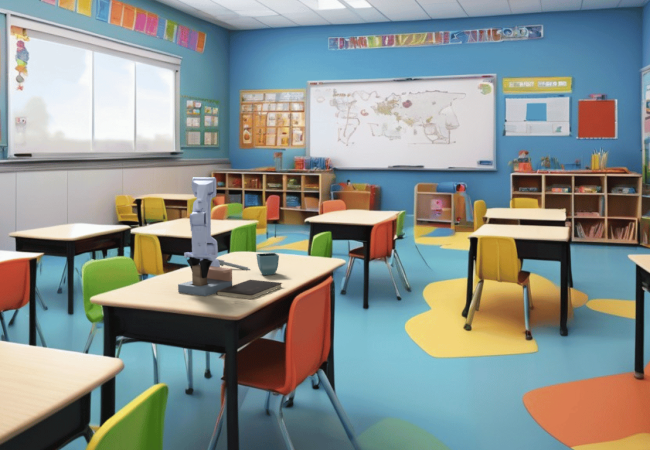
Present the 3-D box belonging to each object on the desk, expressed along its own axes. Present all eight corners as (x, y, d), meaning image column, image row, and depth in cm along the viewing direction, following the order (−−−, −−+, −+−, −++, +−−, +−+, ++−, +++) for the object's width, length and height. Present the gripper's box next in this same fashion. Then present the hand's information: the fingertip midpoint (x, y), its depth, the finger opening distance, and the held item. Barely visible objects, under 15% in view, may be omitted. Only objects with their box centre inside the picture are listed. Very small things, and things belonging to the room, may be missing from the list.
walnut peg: (199, 284, 239) (199, 264, 238) (207, 285, 237) (206, 265, 236) (192, 286, 235) (191, 265, 234) (200, 287, 233) (199, 266, 232)
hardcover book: (282, 288, 245) (282, 282, 244) (251, 300, 224) (251, 294, 224) (248, 284, 251) (248, 279, 251) (216, 296, 231) (216, 290, 231)
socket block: (206, 284, 249) (205, 277, 249) (232, 288, 242) (232, 280, 242) (178, 291, 236) (178, 284, 235) (205, 296, 229) (205, 288, 228)
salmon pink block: (205, 277, 249) (205, 265, 248) (232, 280, 242) (232, 268, 241) (196, 279, 244) (196, 267, 244) (223, 283, 237) (223, 270, 237)
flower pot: (256, 272, 274) (256, 253, 273) (275, 271, 277) (275, 252, 276) (260, 276, 266) (259, 256, 265) (279, 275, 268) (279, 255, 267)
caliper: (209, 268, 286) (209, 255, 285) (210, 268, 287) (210, 255, 286) (249, 270, 281) (249, 257, 280) (250, 270, 282) (250, 257, 281)
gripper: (178, 242, 235) (179, 276, 236) (206, 245, 227) (207, 280, 229) (190, 240, 241) (191, 273, 242) (218, 243, 233) (219, 277, 235)
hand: (200, 277), depth 236 cm, fingers closed on walnut peg, 4 cm apart
